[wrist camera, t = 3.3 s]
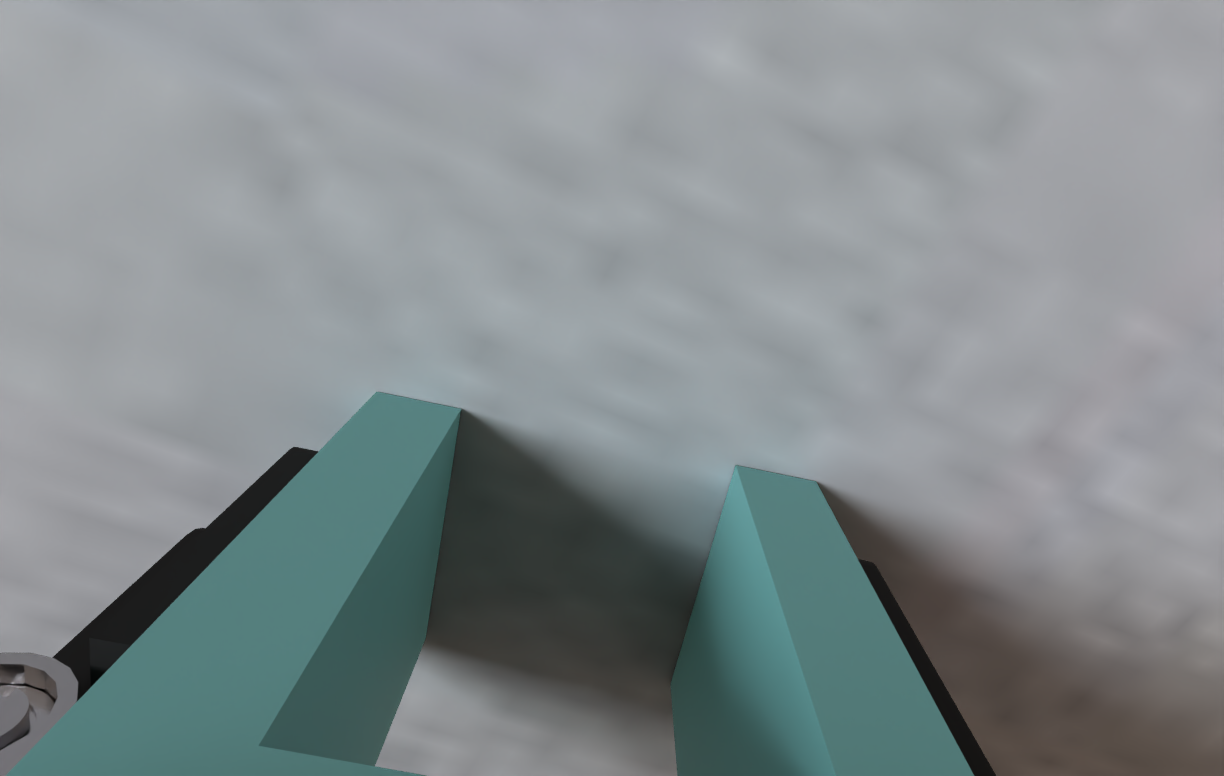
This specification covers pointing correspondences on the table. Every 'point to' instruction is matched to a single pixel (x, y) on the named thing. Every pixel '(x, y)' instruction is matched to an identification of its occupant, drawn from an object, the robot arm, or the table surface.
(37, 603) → the table surface
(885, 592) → the robot arm
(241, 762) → the clip
